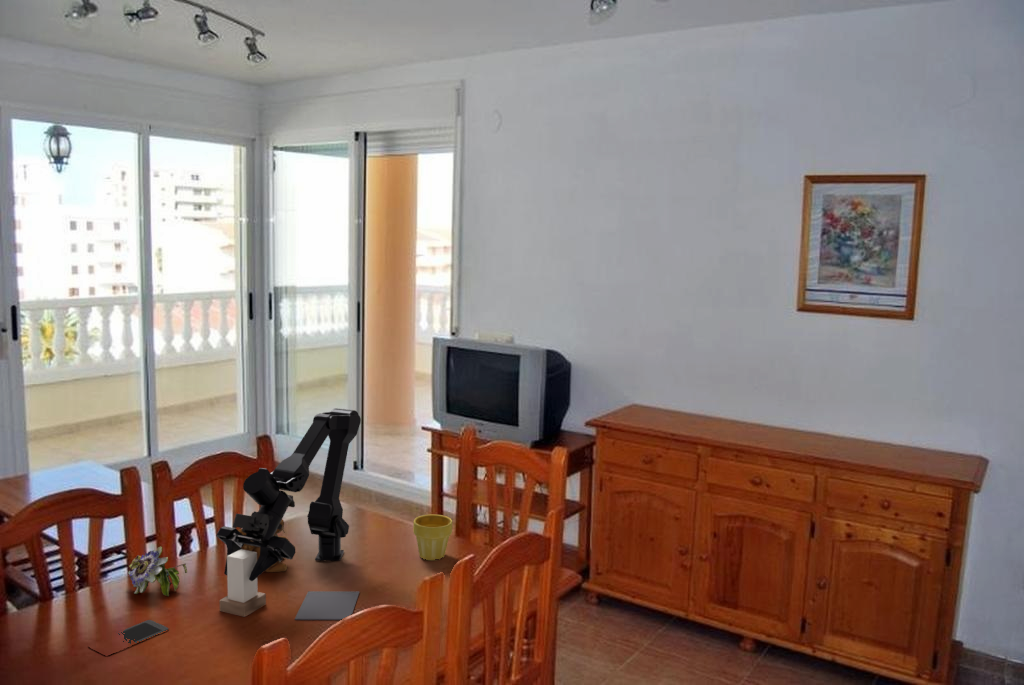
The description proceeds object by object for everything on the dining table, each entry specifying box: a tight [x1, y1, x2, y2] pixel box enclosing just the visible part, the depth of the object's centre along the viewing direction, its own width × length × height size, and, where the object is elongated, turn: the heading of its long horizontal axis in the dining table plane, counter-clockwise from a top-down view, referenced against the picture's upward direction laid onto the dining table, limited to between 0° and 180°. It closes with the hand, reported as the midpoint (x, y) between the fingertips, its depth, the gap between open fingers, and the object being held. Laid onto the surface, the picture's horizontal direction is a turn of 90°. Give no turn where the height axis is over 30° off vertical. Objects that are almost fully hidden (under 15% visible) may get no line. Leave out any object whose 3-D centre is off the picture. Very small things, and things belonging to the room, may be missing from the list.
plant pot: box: [412, 514, 453, 561], centre depth 210 cm, size 10×10×10 cm
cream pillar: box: [226, 549, 259, 603], centre depth 177 cm, size 4×4×10 cm
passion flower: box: [127, 546, 188, 597], centre depth 187 cm, size 11×11×12 cm
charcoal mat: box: [294, 590, 360, 621], centre depth 180 cm, size 14×12×1 cm
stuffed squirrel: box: [237, 518, 291, 573], centre depth 201 cm, size 10×14×13 cm
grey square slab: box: [219, 591, 267, 618], centre depth 178 cm, size 7×7×2 cm
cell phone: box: [118, 619, 170, 644], centre depth 163 cm, size 7×14×1 cm, turn 147°
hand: (238, 577), depth 176 cm, fingers open, 7 cm apart
